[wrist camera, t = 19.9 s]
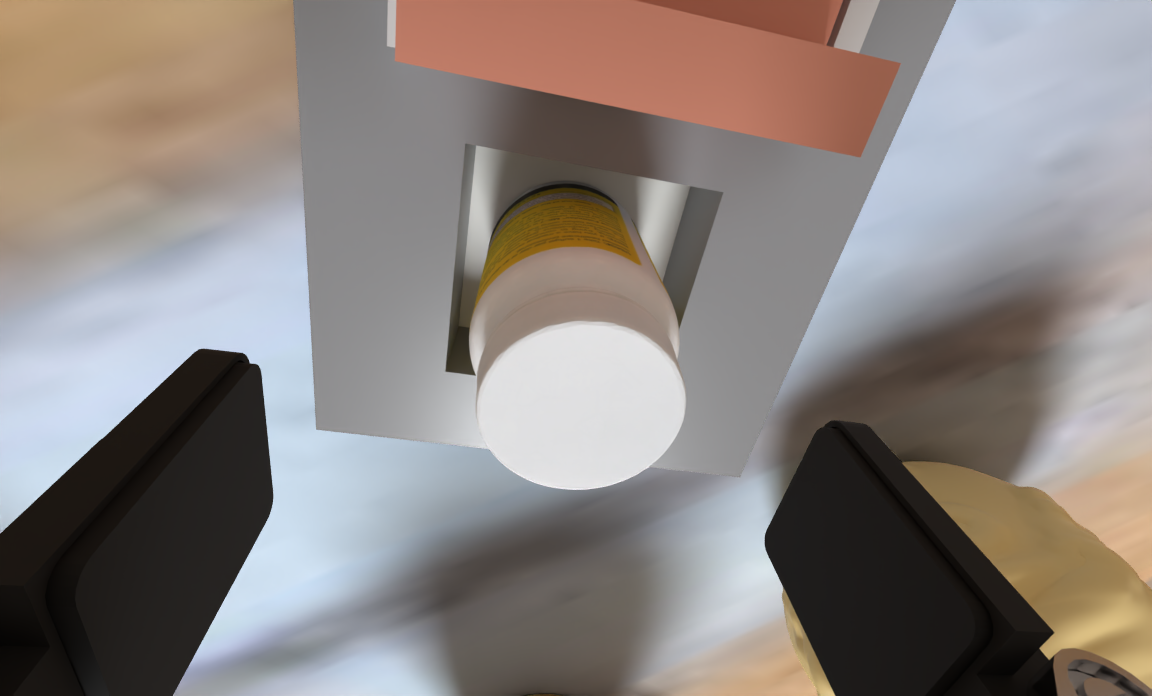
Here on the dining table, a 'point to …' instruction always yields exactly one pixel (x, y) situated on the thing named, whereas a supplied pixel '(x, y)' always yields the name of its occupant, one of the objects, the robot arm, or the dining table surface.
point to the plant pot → (544, 695)
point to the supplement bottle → (574, 342)
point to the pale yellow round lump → (1035, 570)
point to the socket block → (548, 154)
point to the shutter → (666, 60)
